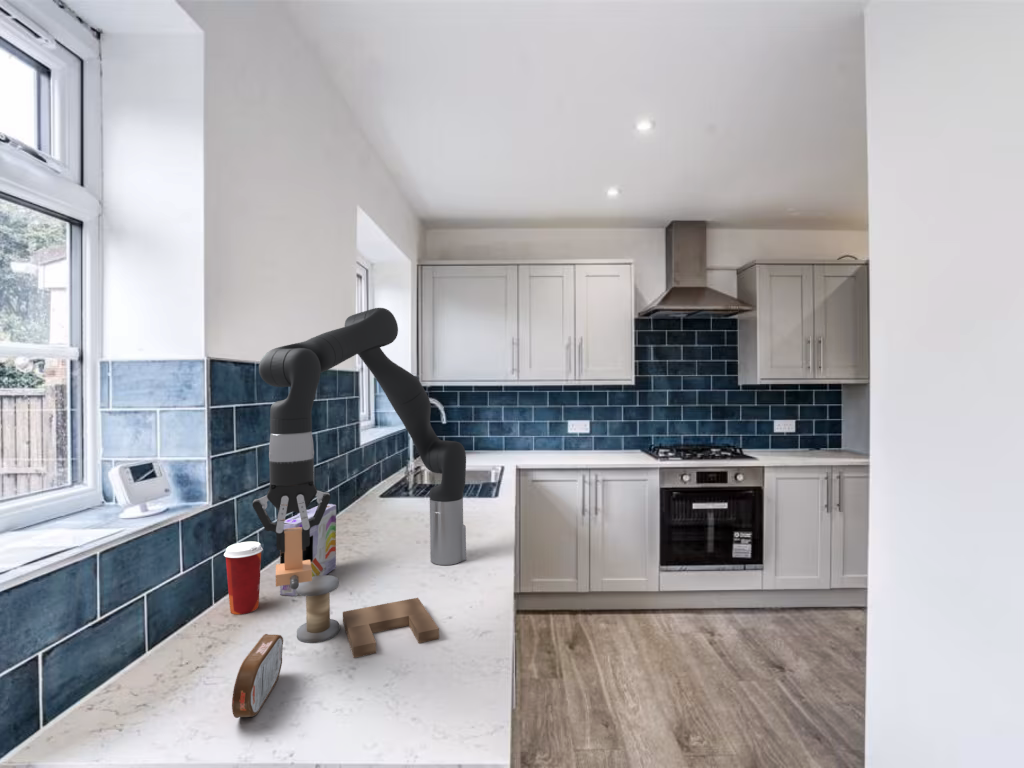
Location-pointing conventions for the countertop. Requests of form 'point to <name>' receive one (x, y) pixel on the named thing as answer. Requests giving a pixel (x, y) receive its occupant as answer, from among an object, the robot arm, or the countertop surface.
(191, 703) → the countertop surface
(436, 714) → the countertop surface
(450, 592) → the countertop surface
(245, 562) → the paper cup
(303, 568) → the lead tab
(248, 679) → the tin
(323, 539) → the cake pan box
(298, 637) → the bobbin
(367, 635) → the brown flat u-shaped block
